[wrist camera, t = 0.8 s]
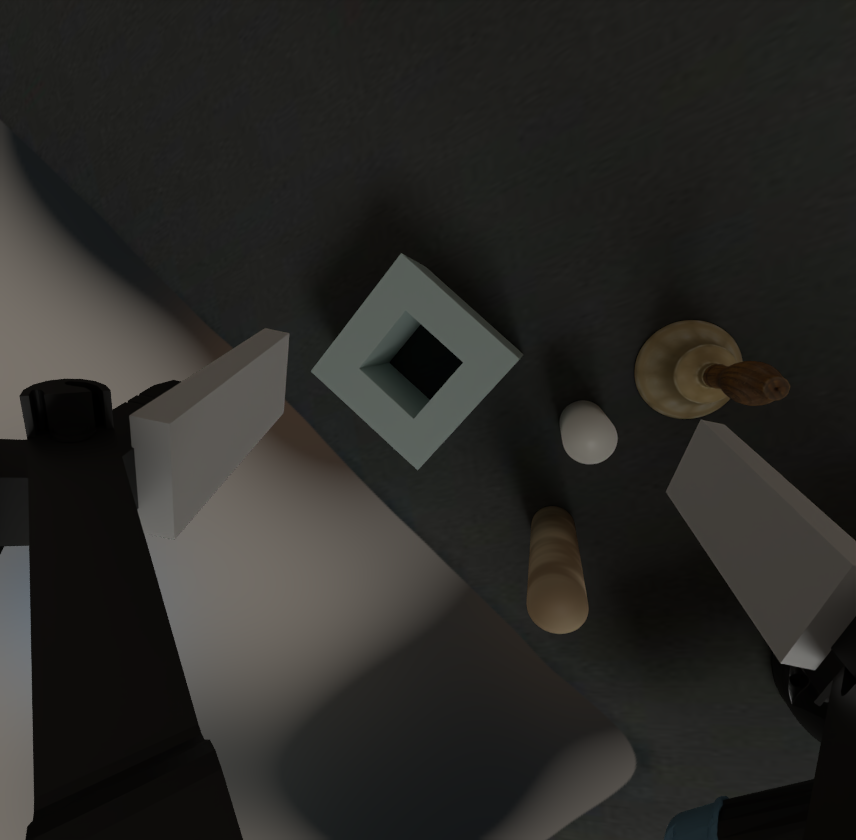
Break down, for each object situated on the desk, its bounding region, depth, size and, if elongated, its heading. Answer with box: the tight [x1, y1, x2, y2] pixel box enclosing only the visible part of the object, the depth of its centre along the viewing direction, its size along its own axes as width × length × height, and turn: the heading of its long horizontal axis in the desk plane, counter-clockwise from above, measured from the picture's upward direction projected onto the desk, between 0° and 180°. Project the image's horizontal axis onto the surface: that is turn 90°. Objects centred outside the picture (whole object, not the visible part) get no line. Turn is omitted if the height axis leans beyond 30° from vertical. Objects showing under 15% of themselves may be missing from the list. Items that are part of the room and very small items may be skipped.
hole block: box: [311, 253, 524, 470], centre depth 42 cm, size 12×12×8 cm
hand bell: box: [634, 320, 790, 419], centre depth 33 cm, size 8×8×16 cm
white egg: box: [559, 400, 617, 464], centre depth 40 cm, size 4×4×7 cm
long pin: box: [527, 506, 589, 634], centre depth 39 cm, size 4×4×14 cm
